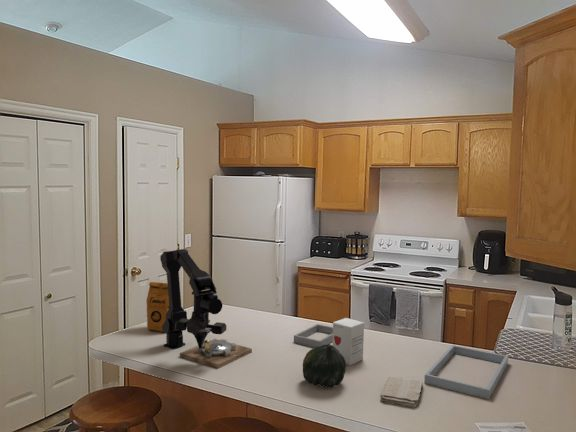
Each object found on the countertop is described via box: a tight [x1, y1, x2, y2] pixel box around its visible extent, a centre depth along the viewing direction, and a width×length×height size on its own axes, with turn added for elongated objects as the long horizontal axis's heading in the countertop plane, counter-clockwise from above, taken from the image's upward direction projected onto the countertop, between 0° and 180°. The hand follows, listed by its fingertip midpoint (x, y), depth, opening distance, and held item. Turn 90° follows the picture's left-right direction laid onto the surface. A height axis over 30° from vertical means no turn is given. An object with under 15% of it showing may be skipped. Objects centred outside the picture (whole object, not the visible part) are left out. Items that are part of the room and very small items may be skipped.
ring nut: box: [196, 338, 237, 358], centre depth 188 cm, size 14×17×7 cm
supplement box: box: [331, 317, 365, 366], centre depth 185 cm, size 9×9×15 cm
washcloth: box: [379, 375, 424, 408], centre depth 157 cm, size 12×18×3 cm, turn 159°
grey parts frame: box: [293, 323, 333, 348], centre depth 209 cm, size 13×20×3 cm, turn 147°
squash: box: [302, 343, 347, 389], centre depth 163 cm, size 14×15×15 cm
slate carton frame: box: [423, 344, 509, 400], centre depth 174 cm, size 21×36×3 cm, turn 147°
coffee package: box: [146, 281, 169, 333], centre depth 218 cm, size 10×12×22 cm
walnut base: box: [179, 338, 253, 369], centre depth 189 cm, size 20×20×2 cm
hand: (200, 348), depth 181 cm, fingers closed
